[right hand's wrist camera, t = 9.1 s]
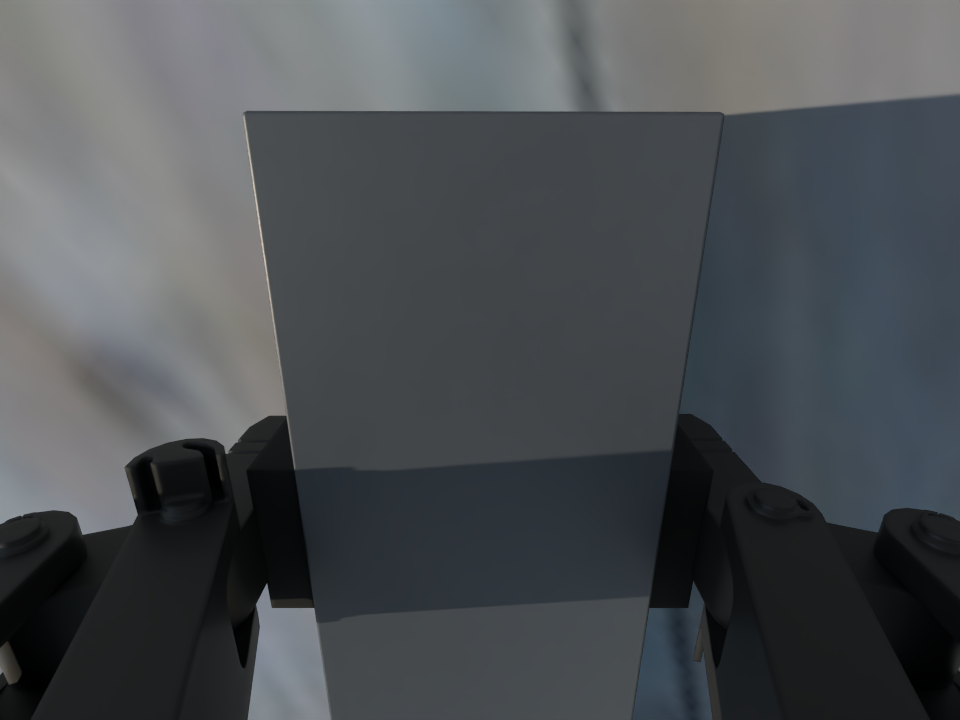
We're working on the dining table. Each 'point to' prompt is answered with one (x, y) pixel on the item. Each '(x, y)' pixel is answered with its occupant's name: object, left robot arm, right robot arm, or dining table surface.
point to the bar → (482, 392)
